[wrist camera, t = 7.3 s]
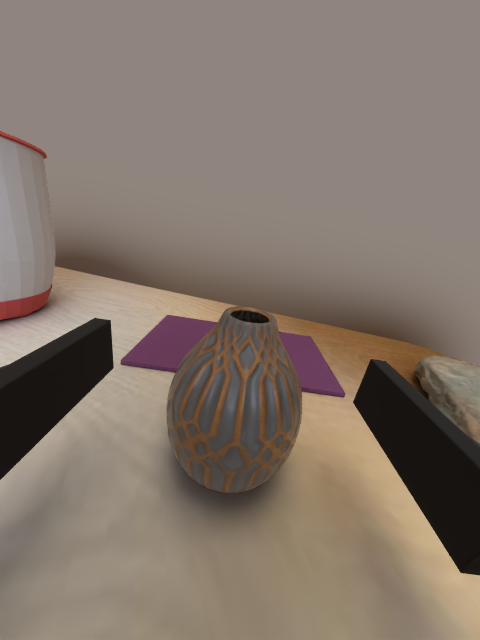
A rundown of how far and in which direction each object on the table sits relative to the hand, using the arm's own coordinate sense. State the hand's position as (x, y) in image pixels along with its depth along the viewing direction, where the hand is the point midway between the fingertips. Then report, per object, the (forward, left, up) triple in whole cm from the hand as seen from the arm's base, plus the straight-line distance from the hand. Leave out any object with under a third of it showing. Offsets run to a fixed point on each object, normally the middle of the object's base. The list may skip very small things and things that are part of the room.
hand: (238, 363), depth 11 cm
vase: (0, 0, -6) cm, 6 cm away
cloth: (0, -13, -6) cm, 14 cm away
